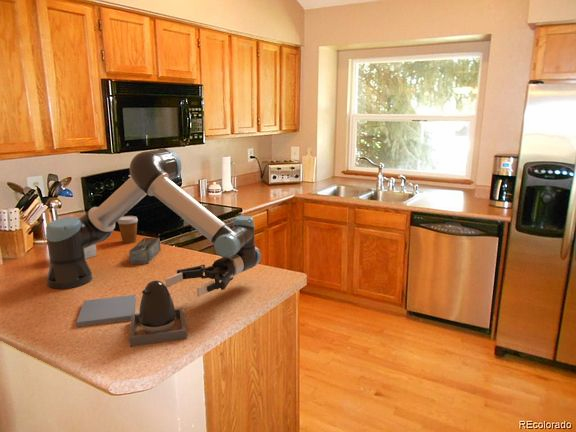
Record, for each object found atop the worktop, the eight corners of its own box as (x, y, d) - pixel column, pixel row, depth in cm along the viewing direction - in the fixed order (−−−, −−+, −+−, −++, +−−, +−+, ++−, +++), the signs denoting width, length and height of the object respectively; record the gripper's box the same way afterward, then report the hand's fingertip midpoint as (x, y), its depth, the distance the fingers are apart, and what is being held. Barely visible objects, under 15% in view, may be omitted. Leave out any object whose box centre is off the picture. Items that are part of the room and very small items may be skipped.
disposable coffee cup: (135, 244, 209) (133, 220, 206) (116, 244, 209) (113, 220, 206) (142, 238, 218) (140, 215, 216) (123, 238, 218) (121, 215, 216)
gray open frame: (130, 346, 118) (129, 338, 117) (132, 322, 132) (131, 314, 131) (186, 338, 122) (186, 330, 122) (182, 315, 136) (182, 307, 136)
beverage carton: (129, 264, 183) (127, 249, 181) (144, 250, 201) (143, 236, 200) (148, 264, 183) (147, 249, 181) (161, 250, 201) (160, 236, 200)
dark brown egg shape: (132, 335, 124) (127, 285, 121) (155, 319, 134) (151, 272, 130) (161, 341, 121) (158, 290, 117) (183, 325, 130) (180, 277, 126)
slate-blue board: (77, 327, 129) (76, 322, 128) (84, 304, 144) (84, 300, 143) (134, 319, 133) (133, 315, 133) (135, 298, 148) (135, 294, 148)
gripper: (256, 284, 144) (213, 308, 127) (201, 270, 158) (155, 290, 140) (256, 263, 143) (211, 284, 125) (200, 250, 156) (153, 268, 138)
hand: (181, 287), depth 133 cm, fingers open, 13 cm apart
